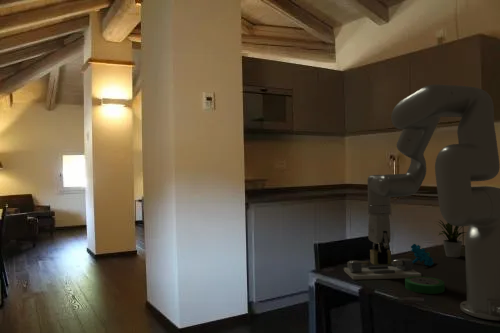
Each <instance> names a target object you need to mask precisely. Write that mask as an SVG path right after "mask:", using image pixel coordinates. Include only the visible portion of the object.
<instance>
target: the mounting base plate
mask: <svg viewBox="0 0 500 333" xmlns="http://www.w3.org/2000/svg"><path fill="white" fill-rule="evenodd" d="M343 271H344V273H346V274H347V275H348V276H349V277H350V278H351V279H352V280H354V281H356V280H381V279H382V280H383V279H387V280H389V279H406V278H407V277H412V276H422V273H421V272H418V271H416V270H415V269H413V268H412V270H409V271H404V270H401V269H398V268H397V267H393V266H392V265H391V266H390V265H389V266H388V265H369V268H362V273H352V272H351V271H350V270H349V269H348V267H343Z"/></svg>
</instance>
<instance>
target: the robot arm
mask: <svg viewBox="0 0 500 333" xmlns="http://www.w3.org/2000/svg"><path fill="white" fill-rule="evenodd" d="M494 111H495V106H494V102H493V98H492V96H491V95H490V94H489V93H488V92H487V91H486V90H484V89H482V88H480V87H475V86H469V85H467V86H466V85H453V84H452V85H451V84H429V85H425V86H423V87H421V88H420V89H418V90H417V91H414V92H413V93H411V94H409V95H408V96H406V97H404V98H403V99H401V100H399V102H398V103H397V104H396V105H395V106H394V108H393V109H392V112H391V115H390V116H391V123H392V125H393V127H395V129H398V130H401V133H400V135H399V137H398V140H397V142H396V148H397V150H398V151H399V153H401V154H402V155H404V156H406V157H408V158H409V159H410V164H409V166H408V169H407V171H406V173H393V174H392V173H390V174H372V175H368V177H367V206H368V207H367V212H368V229H367V232H368V235H367V238H368V240H369V241H370V242H372V250H374V249H379V252H378V264H386V265H389V264H388V250H389V249H388V248H390V243H391V239H392V238H391V222H390V216H391V214H392V211H391V209H392V208H391V207H392V206H391V198H396V197H397V198H398V197H409V196H412V195H415V194H416V193H417V192H418V191H419V189H420V188H421V186H422V183H423V181H424V180H425V177H426V175H427V162H426V158H425V156H424V155H425V152H426V149H427V147H428V145H429V143H430V141H431V138H432V136H433V135H434V132H435V131H436V129H437V127H438V125H439V122H440V119H441V117H443V118H460V120H459V124H458V125H457V132H456V133H457V139H458V143H453V144H448V145H446V146H444V147H443V148H441V149H440V151H439V152H438V154H437V156H436V159H435V162H434V163H435V164H434V173H435V181H436V182H435V183H436V192H437V198H438V206H439V207H438V208H439V211H440V214H441V216H442V218H443V220H444V221H446V223H447V222H448V223H449V224H451V225H453V226H454V227H455V226H459V227H462V226H463V227H468V228H467V231H466V232H467V233H465V240H464V242H465V244H464V246H465V247H464V248H465V249H464V251H465V252H464V255H465V281H466V282H465V283H466V284H465V285H466V287H465V288H466V300H463V301H462V302H461V303H459V307H460V310H461V311H462V312H463V313H464V314H467V315H469V316H470V317H475V318H478V319H483V320H489V321H499V322H500V188H499V187H496V186H487V185H486V186H472V182H485V181H489V180H492V179H494V178H495V177H497V176H498V175H499V172H500V156H499V148H498V142H497V135H496V128H495V112H494Z"/></svg>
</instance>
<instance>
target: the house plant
mask: <svg viewBox="0 0 500 333" xmlns="http://www.w3.org/2000/svg"><path fill="white" fill-rule="evenodd" d="M437 220H439V221H437ZM437 220H435V222H436V223H437V225H438V226H439V227H441V228H442V231H435V232H437V233H439V234H438V235H437V237H439V236H443V237H444V238H445V239H443V240H442V242H443V243H442V244H443V248H444V251H445V257H448V258H460V257H461V250H462V244H463V241H462V240H460V239H461V238H462V237H464V236H465V234H467V231H462V232H460V230H461V229H462V228H463V227H464V226H454V228H453V225H451V224H449V223H448V222H447V221H446V223H444V222H443V220H441V219H437ZM461 235H462V236H461ZM458 237H459V238H458Z"/></svg>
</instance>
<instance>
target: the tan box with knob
mask: <svg viewBox="0 0 500 333" xmlns="http://www.w3.org/2000/svg"><path fill="white" fill-rule="evenodd" d="M378 252H379V249H369V258H370V260H369V263H371V265H373V266H387V265H392V264H391V262H392V251H391V250H390V249H388V264H378Z"/></svg>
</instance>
